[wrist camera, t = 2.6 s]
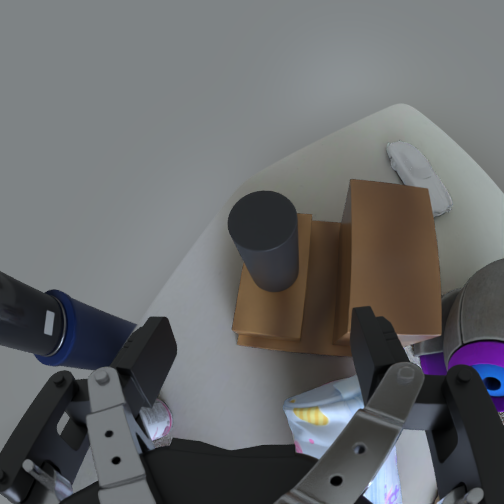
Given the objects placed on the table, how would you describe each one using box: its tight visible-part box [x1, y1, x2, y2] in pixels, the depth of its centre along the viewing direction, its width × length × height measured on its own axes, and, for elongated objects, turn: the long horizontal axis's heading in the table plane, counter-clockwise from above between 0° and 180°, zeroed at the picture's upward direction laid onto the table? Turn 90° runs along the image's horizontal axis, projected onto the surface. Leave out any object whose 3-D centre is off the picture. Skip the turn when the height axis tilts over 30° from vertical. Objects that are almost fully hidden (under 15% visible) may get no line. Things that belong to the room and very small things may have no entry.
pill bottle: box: [140, 399, 173, 441], centre depth 22 cm, size 5×5×8 cm
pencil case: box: [283, 374, 402, 504], centre depth 16 cm, size 21×9×10 cm, turn 12°
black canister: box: [228, 191, 299, 292], centre depth 22 cm, size 4×4×9 cm
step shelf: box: [232, 179, 442, 357], centre depth 24 cm, size 16×14×10 cm
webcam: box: [413, 259, 504, 412], centre depth 16 cm, size 13×13×15 cm
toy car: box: [386, 140, 453, 216], centre depth 30 cm, size 5×12×4 cm, turn 16°
